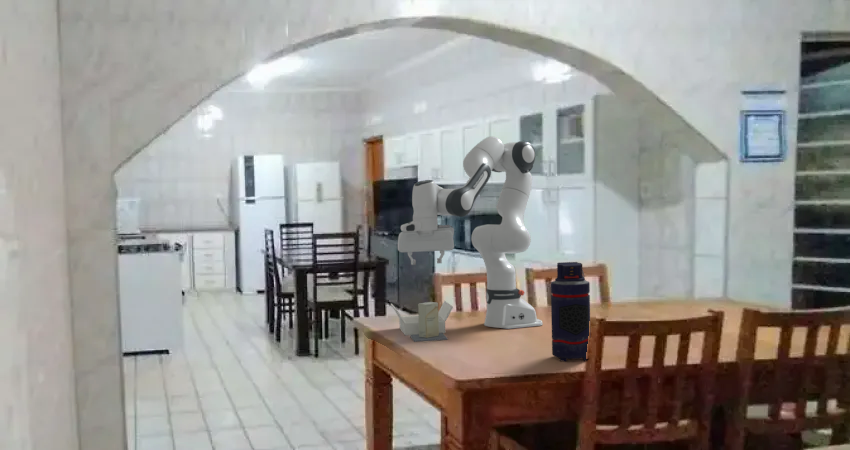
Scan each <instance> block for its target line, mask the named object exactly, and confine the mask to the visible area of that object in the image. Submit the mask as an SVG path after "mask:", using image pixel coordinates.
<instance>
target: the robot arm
mask: <svg viewBox="0 0 850 450" xmlns="http://www.w3.org/2000/svg"><path fill="white" fill-rule="evenodd" d="M535 161H536V151H535V148H534V146H533V145H532V143H530V142H528V141H514V142H513V141H512V142H506V143H503V141H502V140H501V139H499V137H496V136H493V135H491V136H487V137H485V138H483V139H482V140H480V142H478V143H477V144H476V145H474V146H473V147H472V148H471V150H469V152H468V153H467V154H466V155H465V157H464V159H463V161H462V167H463V170H464V172H465V174H467V176H468V177H469V178H468V180H467V181H466V183H465V184H464V185H463V186H461V187H458V188H443V187H441V186H439V185H438V184H437V183H436V182H435V180H433V179H425V180H420V181H417V182H415V183H414V185H413V187H412V195H411V197H412V199H411V200H412V202H411V203H412V208H413V215H412V221H408V222H407V223H404V224H401V225H400V230H401V232H400V233H399V234H398V237H397V251H398V252H399V253H407V256H408V257H409V259H410V265H411V266H414V265H415V266H416V261H417V260H416V259H414V258H413V253H417V252H419V253H420V252H439V254H440V255H439V257H436V264H442V263H443V262H442V260H443V257H444V256H445V255H446V254H445V253H446V252H445V251H453V250H454V248H455V243H454V235H455V228H454V227H453V226H452V225H450V224H438V216H454V217H466V216H467V215H468V214H469V213H470V212H471V211H472V210H473V206H474V204H475V202H476V200H477V198H478V196H479V195H480V193H481V192H482V190H483V189H484V188H485V186H486V184H487V183H488V182H489V180H490V178H491V175H492V172H494V173H504V172H505V180H504V183H503V185H502V188H501V192H500V194H499V197H498V200H497V202H496V203H497V204H496V205H495V206H496V211H497V214H499V216H501V217H502V219H501V222H500V224H489V223H488V224H482V225H478V226H476V227H475V228H474V229H473V231H472V234H471V236H470V237H471V244H472V246H473V247H474V249H476V250H477V251H478V253H479V254H480V256H481V258H482V261H483V263H484V266H485V271H486V282H487V283H486V284H487V288H486V292H485V299H486V300H485V301H486V314H485V319H484V323H483V325H484V326H485V327H490V328H498V329H499V328H501V329H507V330H508V329H509V330H510V329H519V328H528V327H529V328H530V327H539V326H543V324H544V323H543V321H542V319H539V318H537V313H536V310H535V308H534V307H533V306H532V304H530V303H528V301H526V300H524V298H522V296H524V295H525V290H523V289H519V288H517V282H516V280H517V279H516V278H517V275H516V268H515V266H514V265H513V264H512V263H510V262H509V260H508V259H507V257H506V254H509V255H511V254H512V255H513V254H514V255H515V254H519V253H523V252H526V251H527V250H528V249H529V248H530V245H531V242H532V239H531V233H530V232H529V229H527V227H526V226H525V221H524V217H525V211H526V209H527V208H526V207H527V204H528V202H529V199H530V195H531V190H532V183H533V176H532V173H531V171H532V169H534V168H533V167H534V163H535Z"/></svg>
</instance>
